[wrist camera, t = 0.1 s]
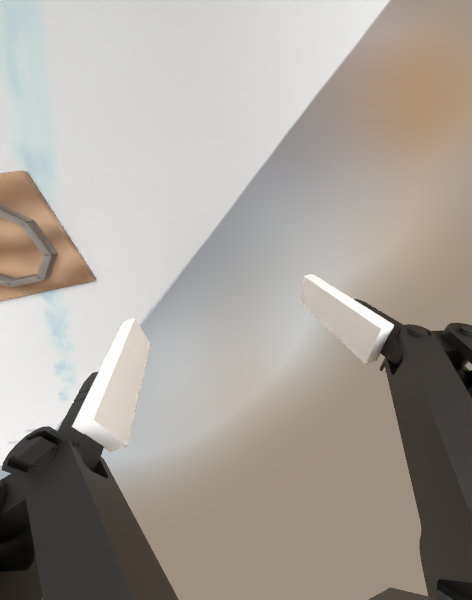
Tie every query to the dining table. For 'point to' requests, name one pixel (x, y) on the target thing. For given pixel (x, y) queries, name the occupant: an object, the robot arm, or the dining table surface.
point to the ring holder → (34, 242)
